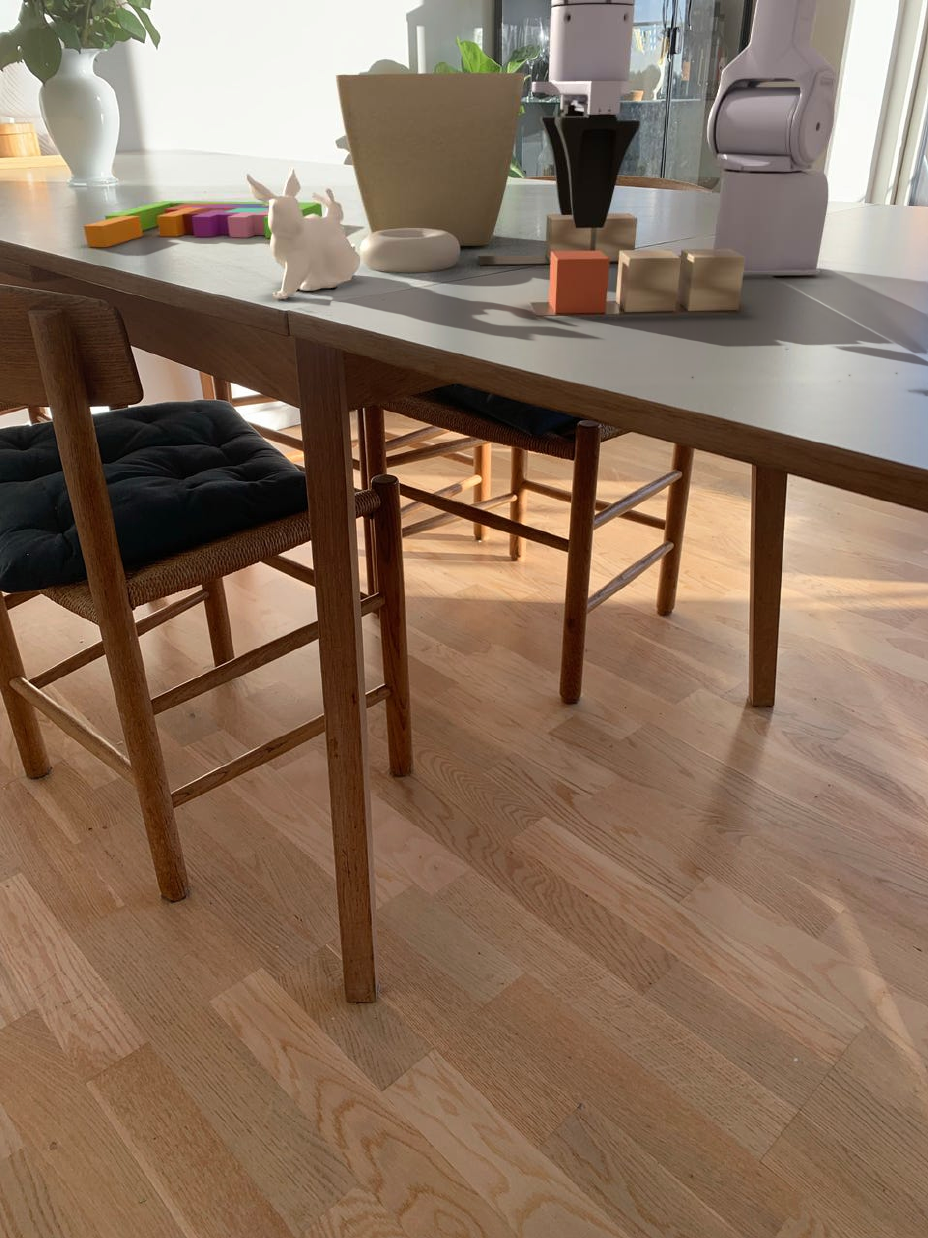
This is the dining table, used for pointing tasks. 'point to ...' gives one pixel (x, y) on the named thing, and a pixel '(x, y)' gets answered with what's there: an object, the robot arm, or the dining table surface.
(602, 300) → the rust orange cube
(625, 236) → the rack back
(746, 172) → the robot arm
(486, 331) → the dining table surface
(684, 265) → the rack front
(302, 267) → the rabbit figurine
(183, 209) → the toy blocks
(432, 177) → the flower pot
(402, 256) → the donut
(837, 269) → the dining table surface
